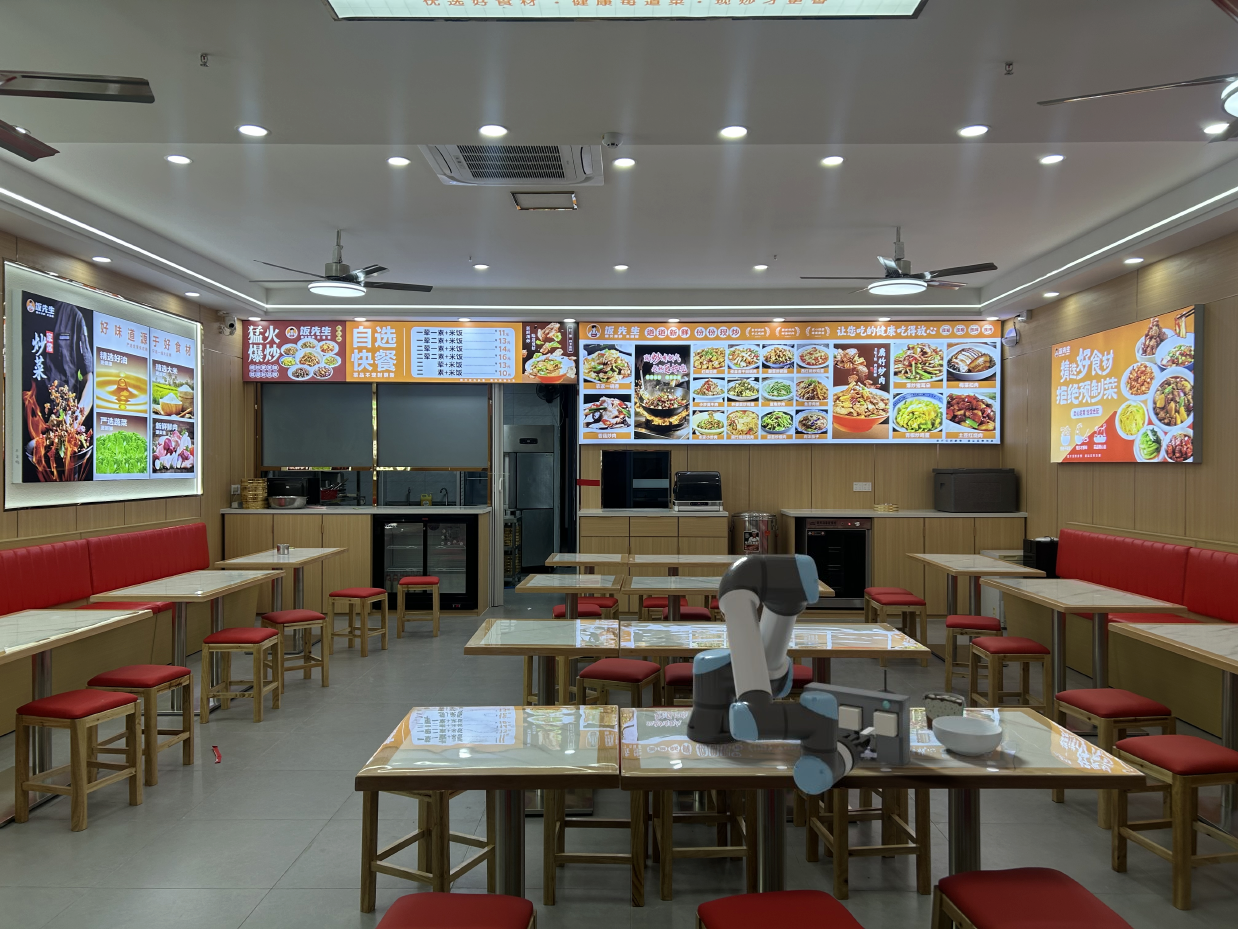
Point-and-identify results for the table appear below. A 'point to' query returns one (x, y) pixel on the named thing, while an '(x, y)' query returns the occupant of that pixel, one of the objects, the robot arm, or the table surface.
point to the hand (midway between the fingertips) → (872, 733)
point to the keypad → (872, 701)
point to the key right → (886, 723)
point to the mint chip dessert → (942, 706)
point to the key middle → (851, 717)
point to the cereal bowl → (967, 734)
